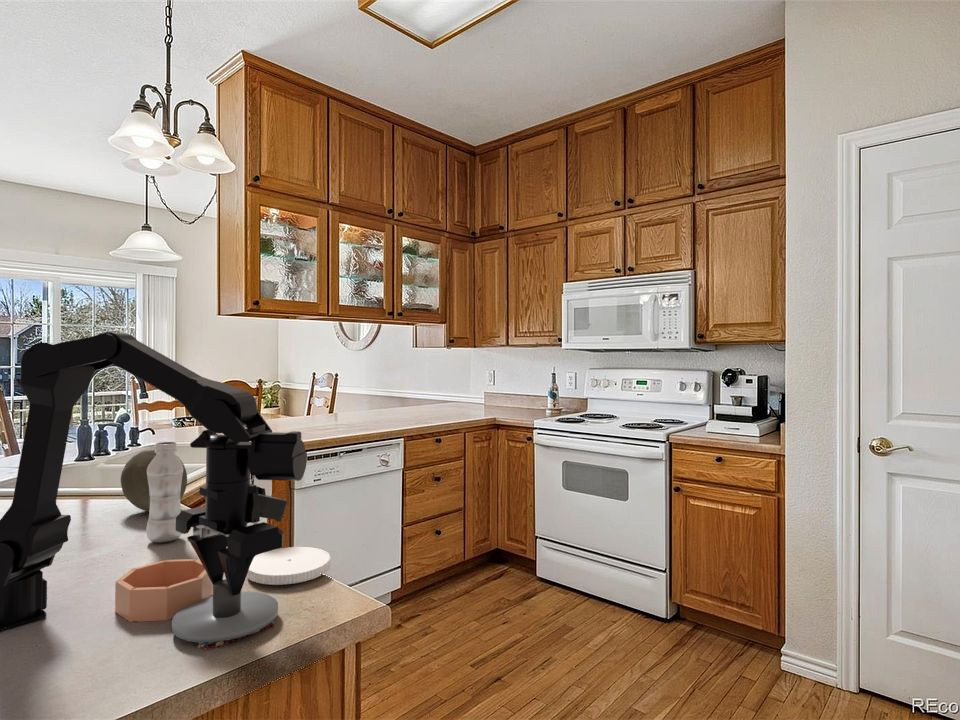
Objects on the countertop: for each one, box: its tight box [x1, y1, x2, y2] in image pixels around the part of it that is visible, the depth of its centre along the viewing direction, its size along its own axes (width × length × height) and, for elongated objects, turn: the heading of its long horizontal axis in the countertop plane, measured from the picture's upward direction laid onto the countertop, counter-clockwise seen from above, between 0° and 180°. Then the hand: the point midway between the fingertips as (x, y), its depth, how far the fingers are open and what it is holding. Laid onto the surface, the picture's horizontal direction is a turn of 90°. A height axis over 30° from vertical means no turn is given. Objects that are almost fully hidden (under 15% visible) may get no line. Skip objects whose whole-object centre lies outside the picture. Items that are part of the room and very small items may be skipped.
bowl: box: [114, 558, 213, 623], centre depth 86 cm, size 12×12×4 cm
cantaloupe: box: [120, 449, 188, 512], centre depth 135 cm, size 14×14×15 cm
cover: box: [171, 578, 279, 643], centre depth 79 cm, size 14×14×5 cm
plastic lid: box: [246, 546, 331, 586], centre depth 99 cm, size 14×14×2 cm
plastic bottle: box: [145, 441, 183, 543], centre depth 114 cm, size 6×7×20 cm
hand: (226, 589), depth 79 cm, fingers open, 5 cm apart
